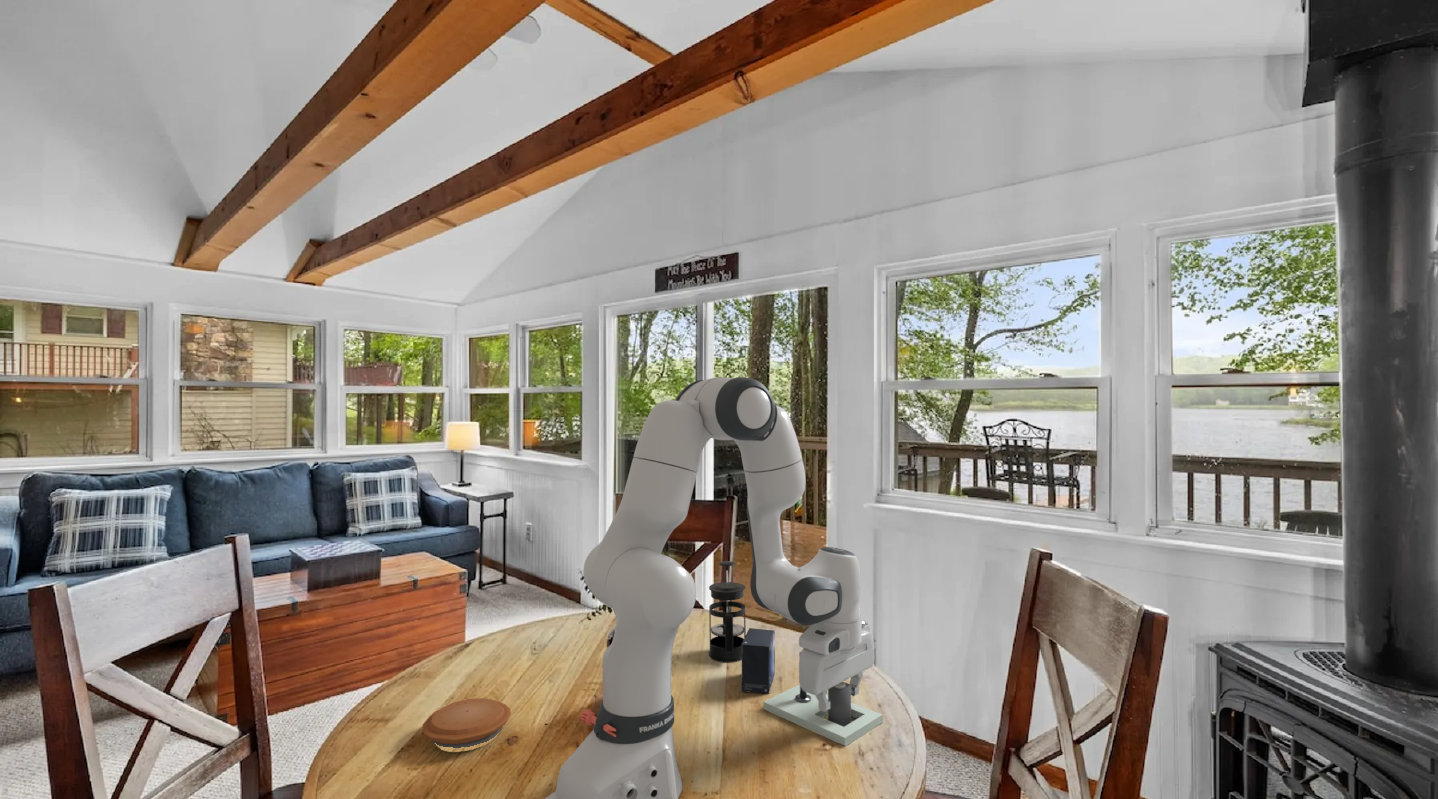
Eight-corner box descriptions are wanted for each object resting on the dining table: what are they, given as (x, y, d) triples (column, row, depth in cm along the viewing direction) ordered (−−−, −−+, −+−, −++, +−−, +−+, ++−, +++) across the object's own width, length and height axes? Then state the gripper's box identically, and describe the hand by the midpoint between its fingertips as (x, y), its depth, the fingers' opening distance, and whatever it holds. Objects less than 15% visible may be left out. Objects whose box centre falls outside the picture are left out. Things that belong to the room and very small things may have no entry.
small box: (770, 695, 138) (770, 645, 138) (740, 692, 139) (740, 643, 140) (776, 674, 148) (775, 628, 149) (748, 672, 150) (747, 627, 150)
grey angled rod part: (804, 704, 130) (804, 657, 130) (792, 699, 133) (791, 652, 133) (824, 694, 135) (823, 648, 135) (812, 689, 137) (811, 644, 137)
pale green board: (845, 746, 117) (845, 737, 117) (763, 709, 132) (763, 701, 132) (882, 722, 126) (882, 714, 126) (802, 690, 140) (802, 683, 140)
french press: (708, 647, 165) (707, 557, 165) (744, 646, 166) (743, 556, 166) (709, 666, 154) (709, 569, 154) (749, 664, 154) (748, 568, 154)
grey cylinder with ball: (823, 722, 126) (823, 683, 126) (837, 714, 129) (836, 676, 129) (842, 730, 123) (842, 690, 123) (855, 722, 126) (855, 683, 126)
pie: (508, 711, 132) (507, 687, 132) (513, 749, 117) (513, 721, 118) (425, 726, 126) (424, 700, 126) (419, 767, 112) (419, 738, 112)
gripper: (855, 614, 136) (856, 681, 136) (792, 640, 122) (793, 713, 121) (881, 622, 131) (882, 690, 131) (819, 649, 117) (820, 725, 117)
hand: (839, 702), depth 126 cm, fingers open, 8 cm apart
